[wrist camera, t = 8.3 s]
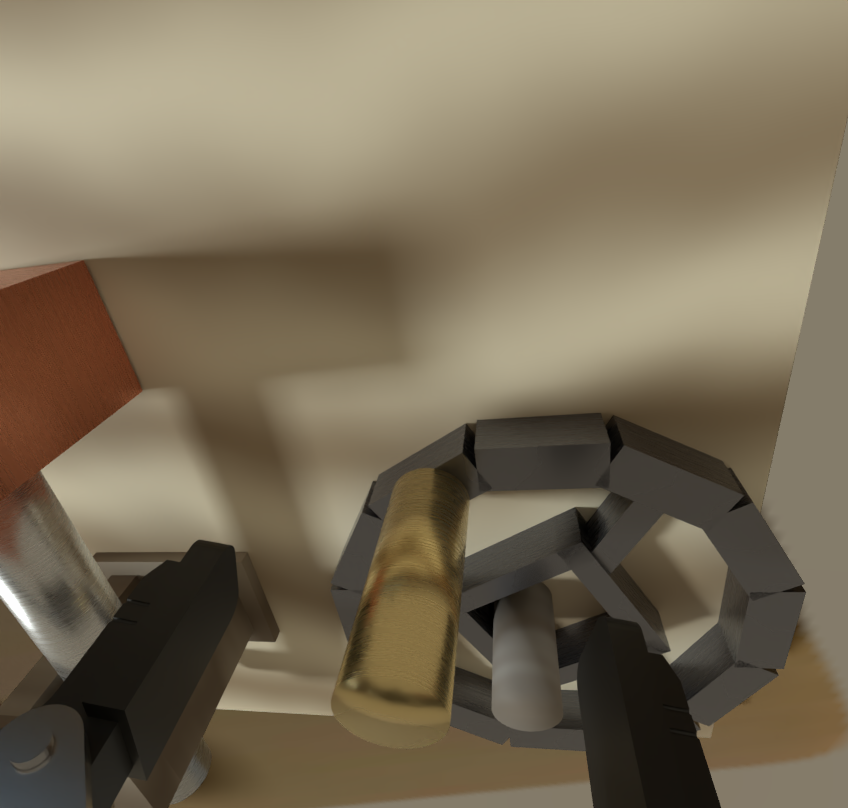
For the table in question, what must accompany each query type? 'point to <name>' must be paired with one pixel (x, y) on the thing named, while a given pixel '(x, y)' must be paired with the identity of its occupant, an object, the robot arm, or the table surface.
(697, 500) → the handwheel
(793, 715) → the table surface
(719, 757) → the table surface
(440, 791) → the table surface
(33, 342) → the copper cube on rod
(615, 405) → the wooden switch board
